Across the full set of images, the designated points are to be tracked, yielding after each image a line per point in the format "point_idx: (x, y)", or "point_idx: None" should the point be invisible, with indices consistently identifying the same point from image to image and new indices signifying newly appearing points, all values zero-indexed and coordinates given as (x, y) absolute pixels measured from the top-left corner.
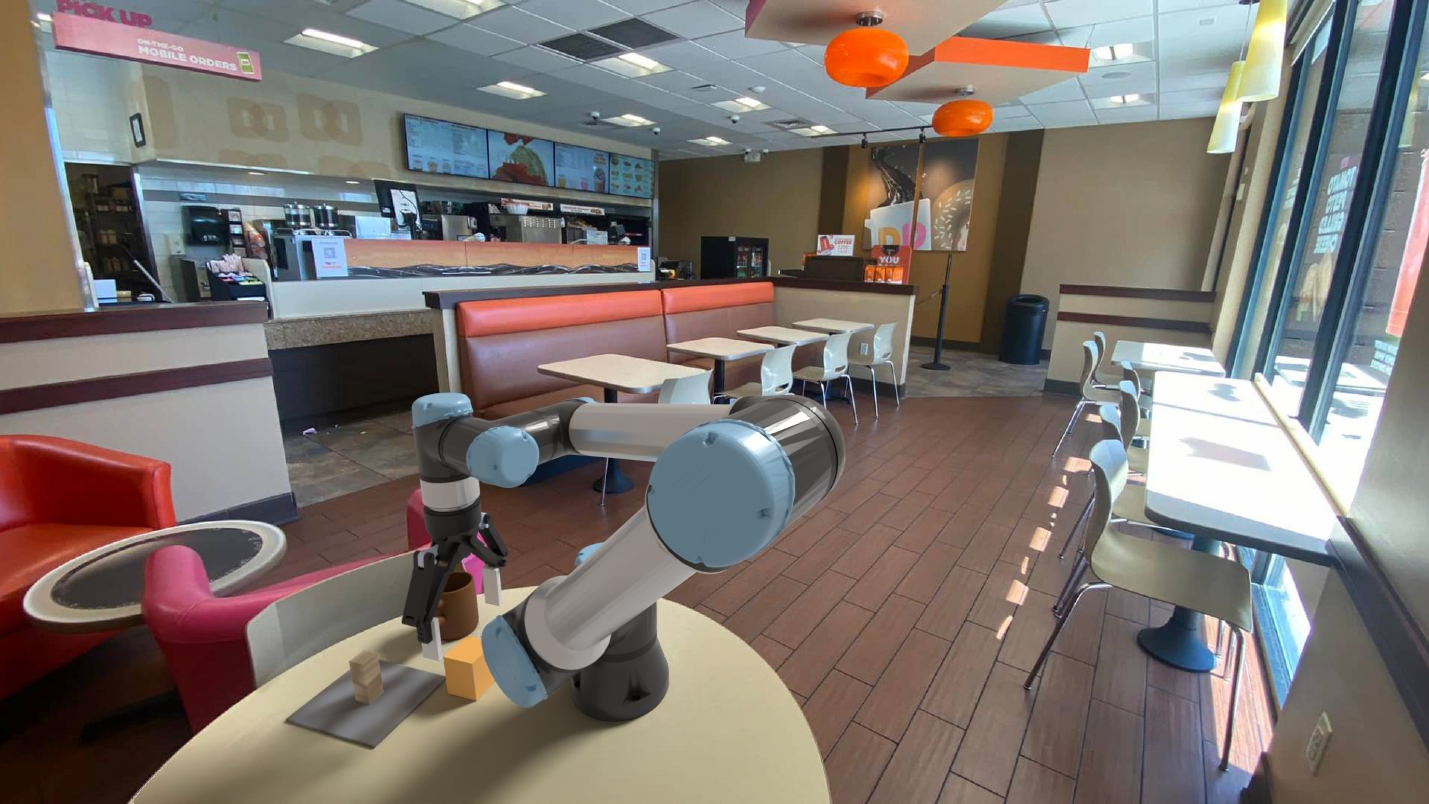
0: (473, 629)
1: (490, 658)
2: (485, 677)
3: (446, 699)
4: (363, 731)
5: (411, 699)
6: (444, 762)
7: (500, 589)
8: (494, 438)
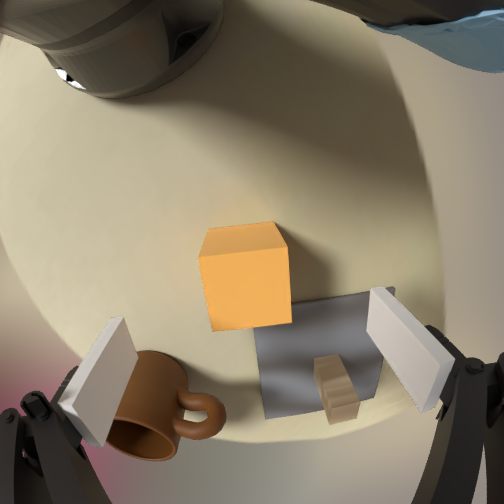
0: (144, 351)
1: None
2: (244, 232)
3: (289, 272)
4: None
5: (313, 317)
6: (388, 175)
7: (94, 347)
8: None
